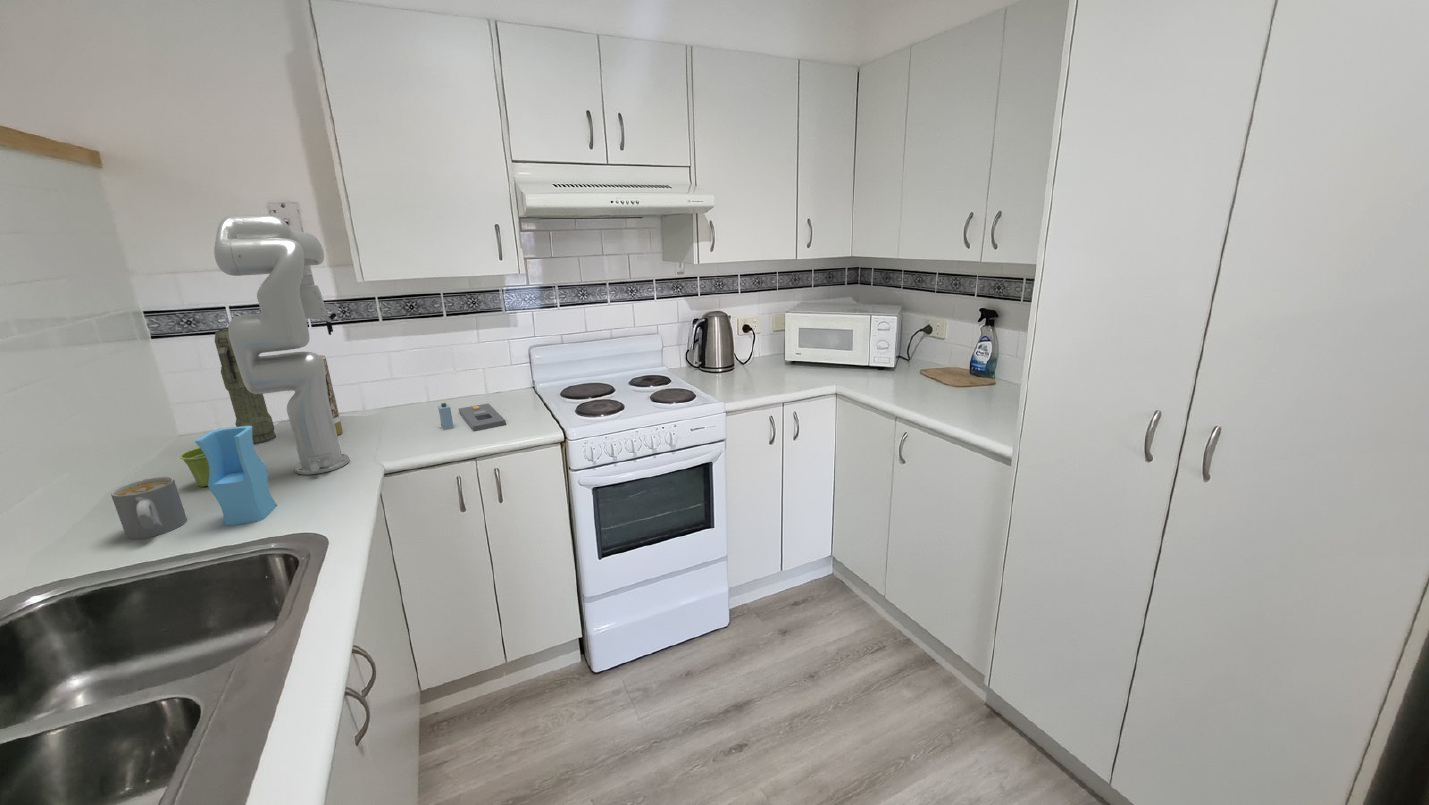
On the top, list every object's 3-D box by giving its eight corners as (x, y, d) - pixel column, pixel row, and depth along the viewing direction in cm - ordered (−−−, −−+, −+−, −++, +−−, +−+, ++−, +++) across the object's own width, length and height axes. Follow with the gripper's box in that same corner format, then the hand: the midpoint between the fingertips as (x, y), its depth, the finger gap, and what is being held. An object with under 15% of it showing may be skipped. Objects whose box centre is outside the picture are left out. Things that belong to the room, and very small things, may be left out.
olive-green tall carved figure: (233, 448, 175) (199, 333, 165) (251, 435, 186) (220, 327, 176) (267, 444, 178) (236, 330, 168) (282, 432, 189) (254, 324, 178)
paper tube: (340, 436, 183) (322, 358, 175) (315, 439, 180) (296, 361, 173) (345, 430, 189) (327, 354, 181) (320, 433, 186) (302, 356, 179)
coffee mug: (136, 523, 130) (122, 482, 127) (193, 512, 134) (180, 473, 131) (110, 551, 119) (93, 507, 116) (173, 538, 123) (158, 495, 120)
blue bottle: (453, 427, 187) (449, 404, 185) (443, 429, 186) (439, 405, 183) (451, 424, 190) (447, 401, 188) (441, 426, 189) (437, 402, 187)
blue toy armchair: (221, 526, 127) (194, 441, 121) (238, 510, 134) (213, 429, 129) (262, 520, 129) (238, 436, 123) (277, 505, 137) (254, 424, 131)
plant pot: (243, 479, 153) (234, 448, 150) (199, 493, 145) (188, 460, 142) (227, 472, 157) (218, 442, 155) (183, 486, 149) (173, 454, 147)
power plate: (506, 424, 188) (505, 418, 187) (473, 431, 183) (472, 424, 182) (489, 407, 207) (488, 401, 207) (459, 413, 202) (458, 406, 202)
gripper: (264, 285, 174) (278, 341, 179) (332, 280, 183) (344, 334, 188) (266, 283, 180) (279, 338, 185) (331, 279, 189) (343, 331, 194)
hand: (312, 336), depth 186 cm, fingers open, 9 cm apart
